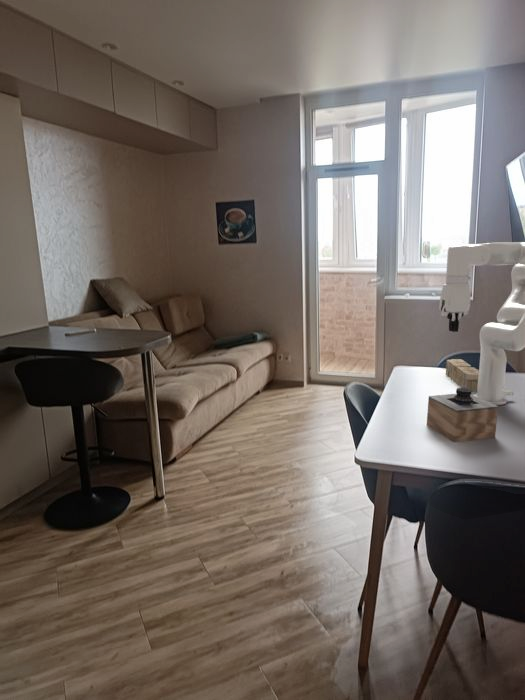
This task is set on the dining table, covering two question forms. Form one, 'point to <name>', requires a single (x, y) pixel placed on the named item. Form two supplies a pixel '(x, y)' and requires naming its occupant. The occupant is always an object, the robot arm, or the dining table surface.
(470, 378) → the block tower
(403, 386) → the dining table surface
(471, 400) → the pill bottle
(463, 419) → the sleeve block
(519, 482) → the dining table surface
